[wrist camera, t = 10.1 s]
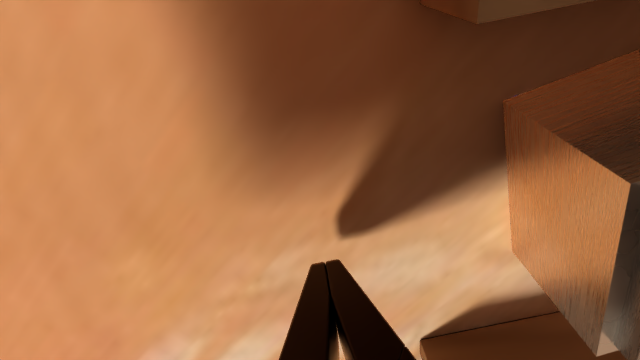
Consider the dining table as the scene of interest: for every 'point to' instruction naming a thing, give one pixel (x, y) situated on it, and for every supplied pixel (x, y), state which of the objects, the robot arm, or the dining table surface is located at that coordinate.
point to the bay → (528, 334)
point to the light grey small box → (581, 198)
